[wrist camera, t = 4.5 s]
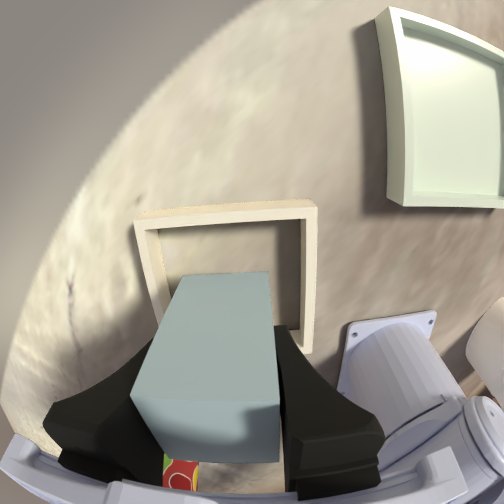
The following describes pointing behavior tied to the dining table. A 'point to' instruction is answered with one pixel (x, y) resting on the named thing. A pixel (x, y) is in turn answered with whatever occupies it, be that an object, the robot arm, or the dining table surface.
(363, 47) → the dining table surface
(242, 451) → the block
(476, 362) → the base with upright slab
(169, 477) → the smoothie
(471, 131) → the tray
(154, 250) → the holder
